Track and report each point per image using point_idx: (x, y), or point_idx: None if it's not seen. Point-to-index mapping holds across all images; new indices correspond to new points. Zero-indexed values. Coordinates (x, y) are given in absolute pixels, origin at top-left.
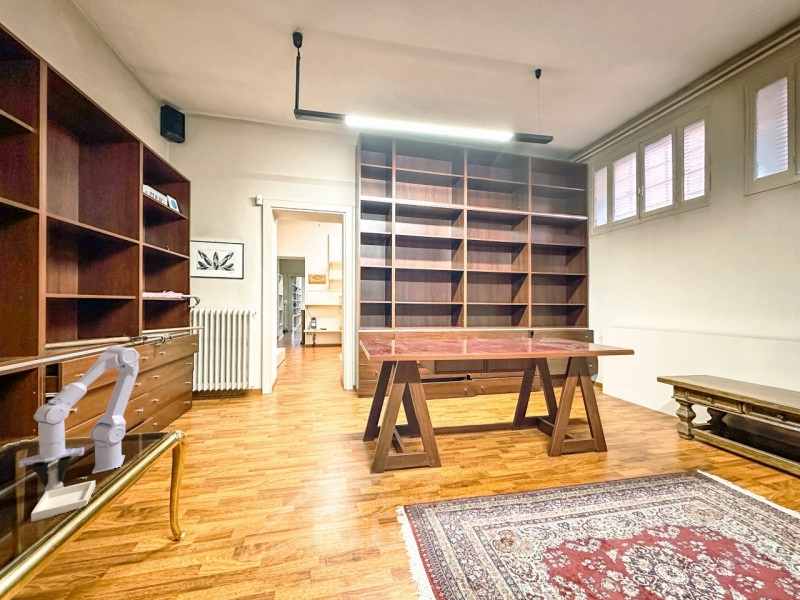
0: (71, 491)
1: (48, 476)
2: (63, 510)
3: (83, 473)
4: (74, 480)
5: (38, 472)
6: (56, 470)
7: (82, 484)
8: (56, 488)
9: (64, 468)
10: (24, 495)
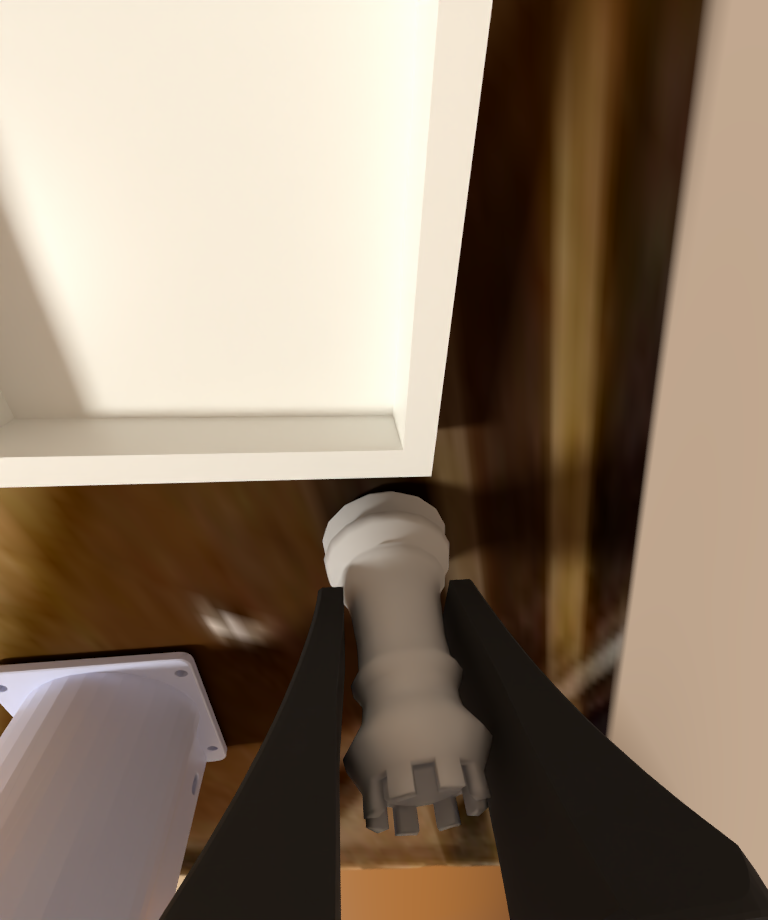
0: (201, 422)
1: (450, 666)
2: None
3: (261, 670)
4: (287, 614)
5: (602, 760)
6: (376, 744)
7: (62, 454)
8: (359, 523)
9: (259, 767)
10: (551, 556)
